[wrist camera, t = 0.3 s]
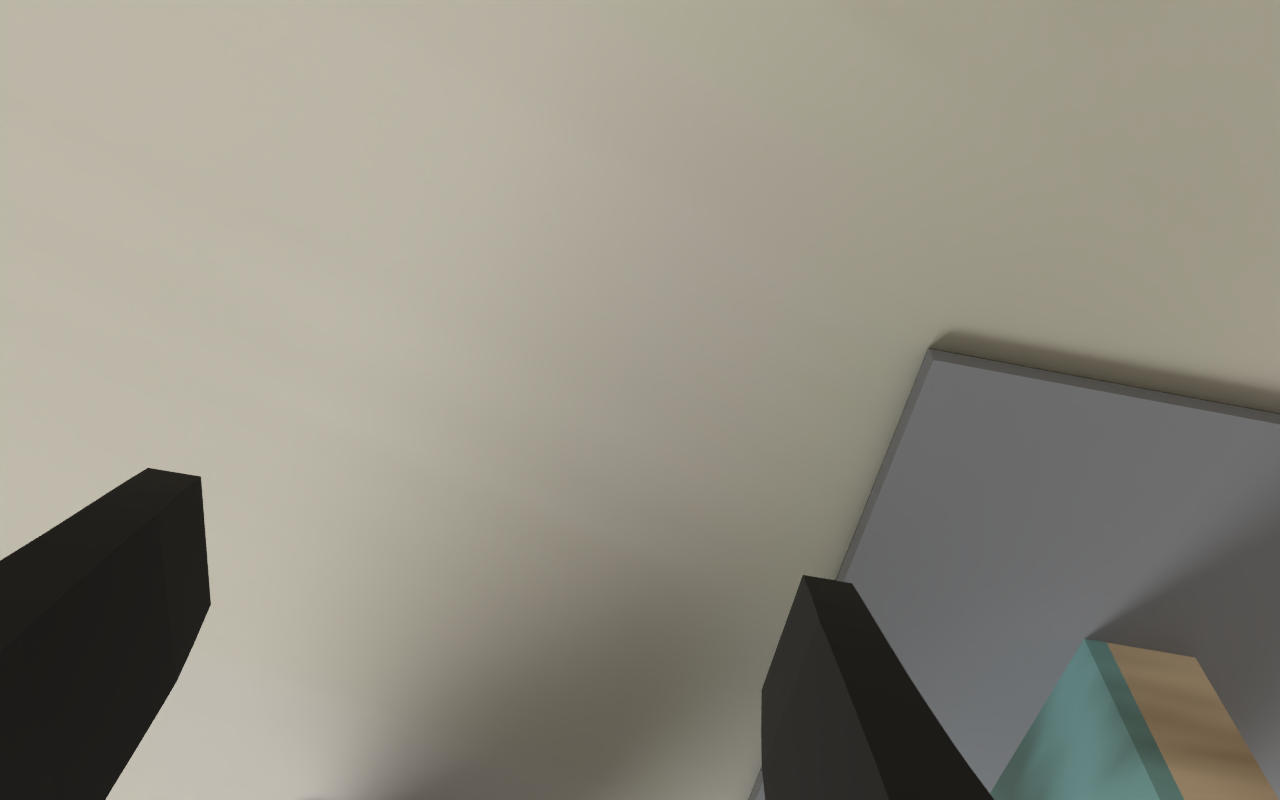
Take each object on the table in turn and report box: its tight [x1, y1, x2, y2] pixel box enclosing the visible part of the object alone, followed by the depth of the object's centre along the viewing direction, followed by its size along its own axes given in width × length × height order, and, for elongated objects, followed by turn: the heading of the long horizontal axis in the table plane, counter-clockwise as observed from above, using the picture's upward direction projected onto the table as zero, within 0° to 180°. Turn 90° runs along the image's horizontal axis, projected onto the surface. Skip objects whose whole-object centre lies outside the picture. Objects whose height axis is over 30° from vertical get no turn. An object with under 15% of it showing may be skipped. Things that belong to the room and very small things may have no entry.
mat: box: [749, 349, 1280, 800], centre depth 28 cm, size 24×20×1 cm
